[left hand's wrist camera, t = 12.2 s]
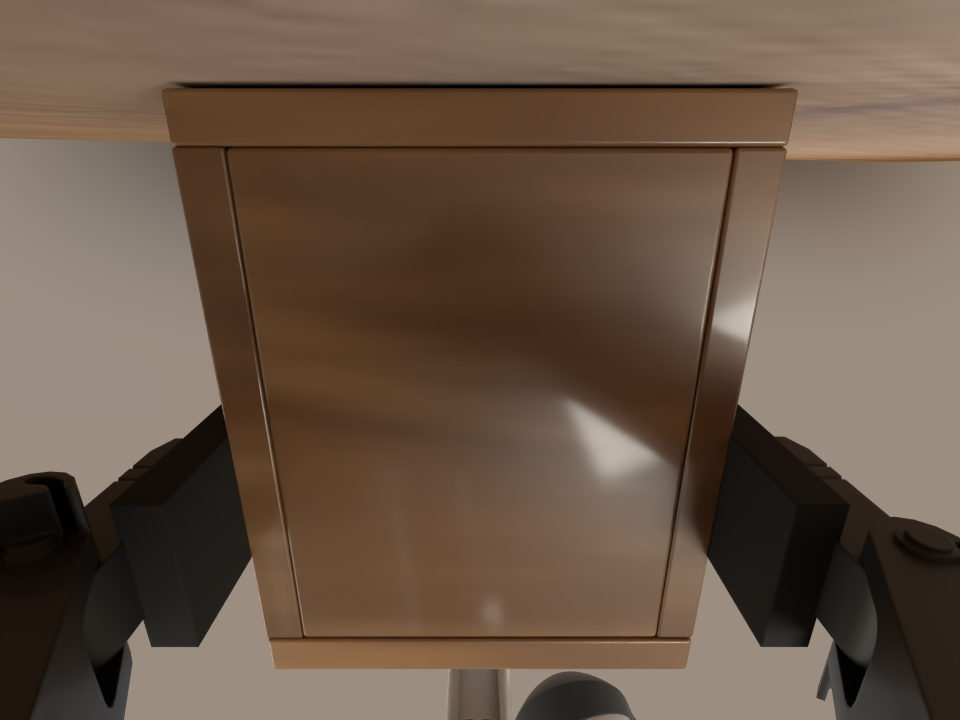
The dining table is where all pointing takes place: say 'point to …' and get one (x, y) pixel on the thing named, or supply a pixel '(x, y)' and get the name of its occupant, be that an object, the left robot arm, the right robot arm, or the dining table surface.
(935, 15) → the dining table surface
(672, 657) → the lid
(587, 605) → the chest
